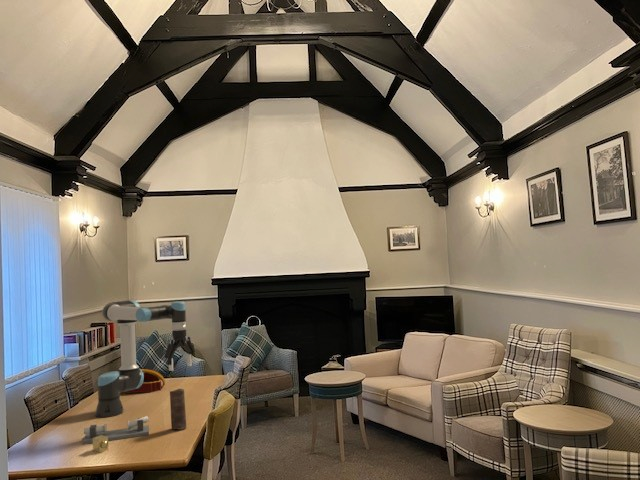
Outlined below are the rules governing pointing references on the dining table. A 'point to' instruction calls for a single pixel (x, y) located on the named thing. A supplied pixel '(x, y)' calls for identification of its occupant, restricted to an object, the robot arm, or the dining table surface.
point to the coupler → (100, 443)
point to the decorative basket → (149, 382)
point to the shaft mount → (117, 431)
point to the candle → (178, 409)
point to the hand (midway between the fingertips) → (180, 368)
